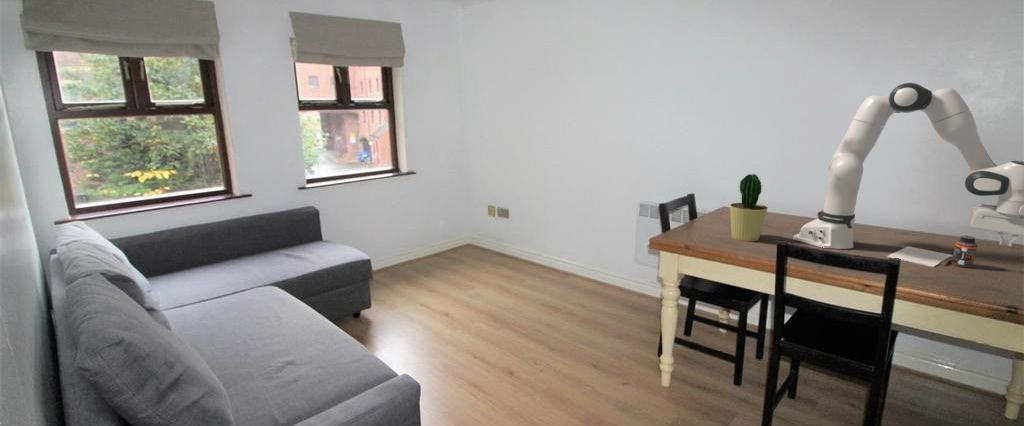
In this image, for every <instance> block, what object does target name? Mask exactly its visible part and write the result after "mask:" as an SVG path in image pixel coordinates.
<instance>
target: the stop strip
mask: <svg viewBox="0 0 1024 426" xmlns="http://www.w3.org/2000/svg"><path fill="white" fill-rule="evenodd" d="M952 258H953V256H952V257H951V256H950V257H948V258H946V259H945V260H943V261H941V262H940V263H939V264H938V265H939V266H942V267H945V266H947V265H949V264H950V263H952Z"/></svg>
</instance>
